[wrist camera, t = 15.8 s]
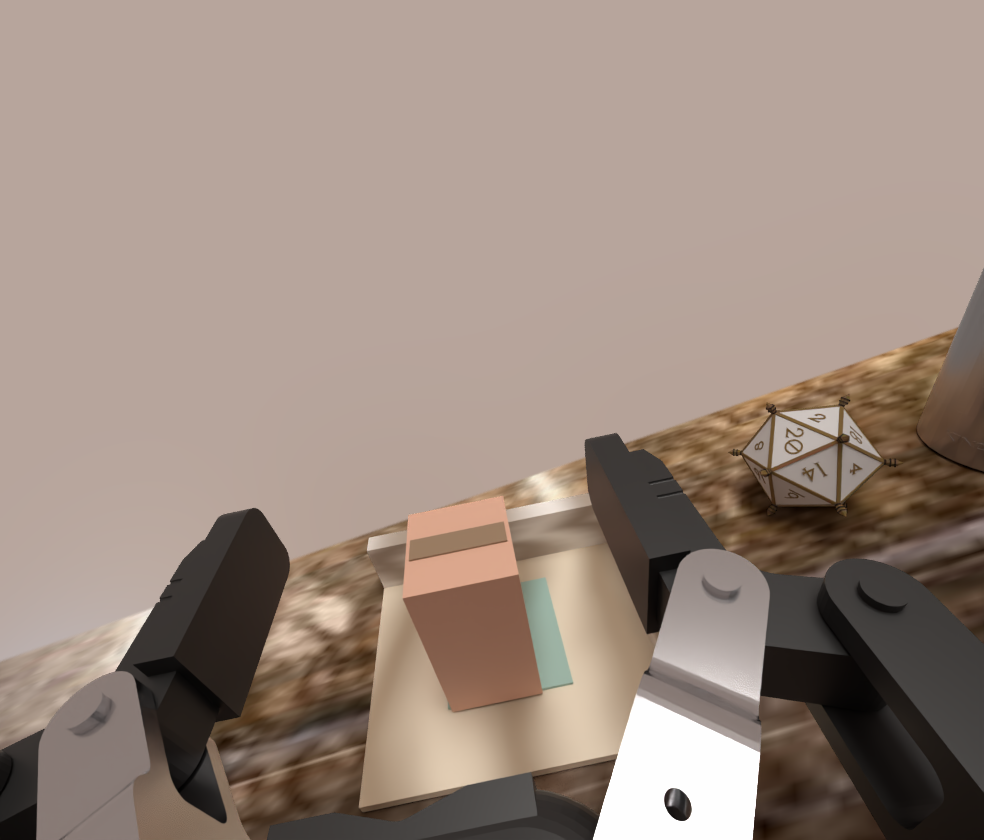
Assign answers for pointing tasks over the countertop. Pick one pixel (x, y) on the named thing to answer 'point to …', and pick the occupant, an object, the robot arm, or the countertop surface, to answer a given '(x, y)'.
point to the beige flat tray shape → (560, 660)
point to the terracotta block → (470, 603)
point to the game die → (811, 457)
